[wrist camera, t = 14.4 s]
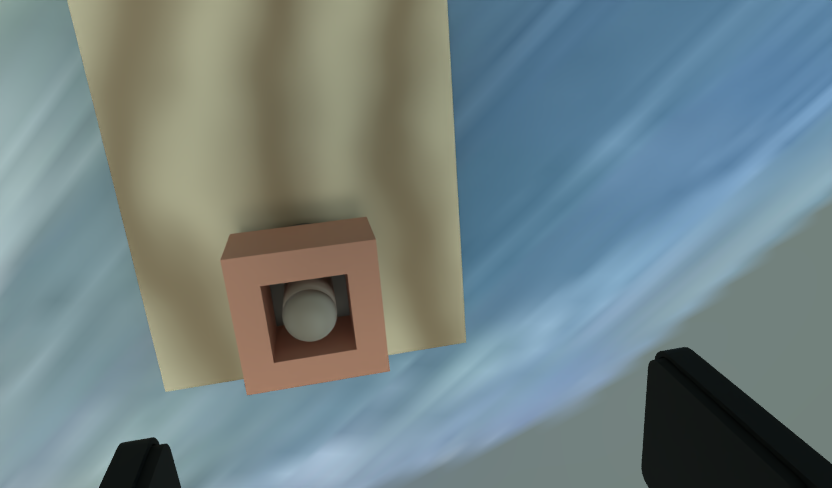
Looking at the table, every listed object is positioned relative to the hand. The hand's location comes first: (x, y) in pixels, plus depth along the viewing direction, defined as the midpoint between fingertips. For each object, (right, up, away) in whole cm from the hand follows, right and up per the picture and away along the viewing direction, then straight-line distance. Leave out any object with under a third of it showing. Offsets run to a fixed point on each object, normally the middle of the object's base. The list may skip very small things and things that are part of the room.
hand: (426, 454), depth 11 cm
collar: (-6, +2, +20) cm, 21 cm away
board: (-7, +11, +21) cm, 25 cm away
